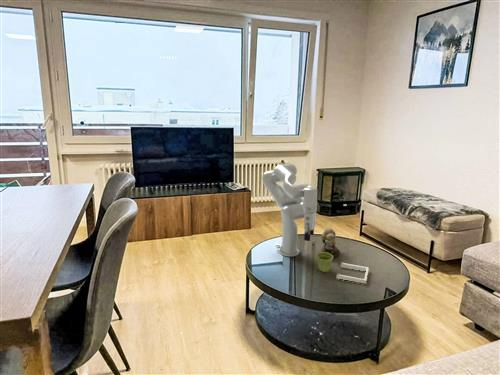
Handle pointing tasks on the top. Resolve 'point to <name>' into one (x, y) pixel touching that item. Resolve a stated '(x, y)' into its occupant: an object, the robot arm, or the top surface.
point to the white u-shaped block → (354, 267)
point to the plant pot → (324, 261)
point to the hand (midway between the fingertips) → (308, 237)
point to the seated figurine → (329, 242)
